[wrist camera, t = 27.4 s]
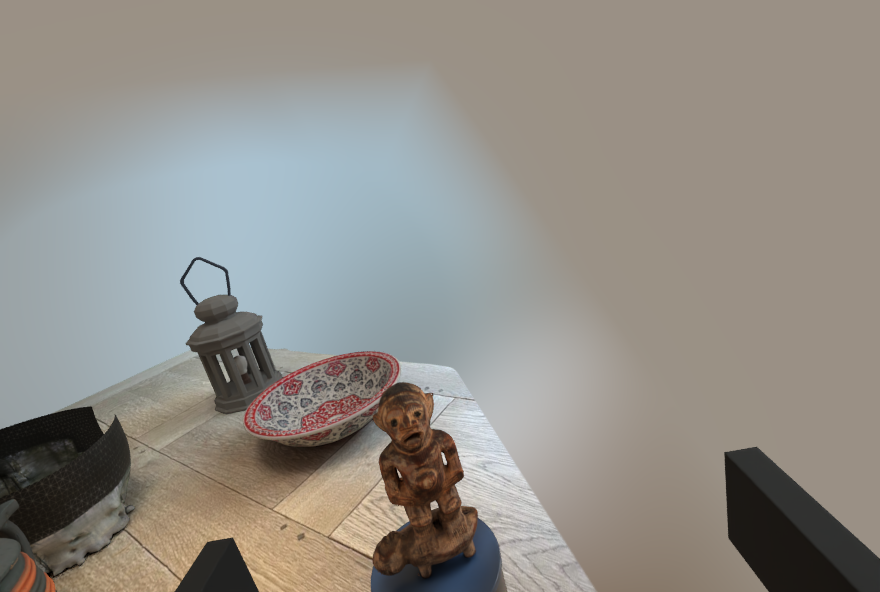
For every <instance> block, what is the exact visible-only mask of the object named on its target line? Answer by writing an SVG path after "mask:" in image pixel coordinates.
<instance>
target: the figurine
mask: <svg viewBox="0 0 880 592" xmlns="http://www.w3.org/2000/svg"><path fill="white" fill-rule="evenodd" d="M432 395H433V393H432ZM432 395H431V394H430V393H427V394H424V393H423V391H422V390H421V389H420V388H419V387H418V386H416V385H414V384H410V383H404V382H402V383H396V384H394V385H392V386H391V387H389V388H387V389H386V390H385V391H384V393H383V394H382V396H381V398H380V401H379V406H378V412H377V413H375V414H374V415H373V420H374V422H375V424H376V425H377V426H378V427H379V428H380V429H382V430H383V431H385V432H386V433H387V434H388V435H389V436H390V437H391V439H392V442H391V443H390V444H389V445H388V446H387V447H386V448H385V449H384V450H383V452H382V453H381V455H380V458H379V466H380V470H381V475H382V478H383V480H384V483H385V490H386V492H387V495H388V498H389V500H390V502H391V503H392V504H396V505H398V506H399V505H401V507H402V506H404V508H405V511H406V513H407V516H408V518H409V521H410V524H409V525H408V526H407V527H406V528H404V529H402V530H401V531H392V532H390V533H389V534H388V535H387V536H384V537H383V539H382V540H381V541H380V542H379V543H378V544H377V546H376V549H375V552H374V554H373V564H374V567H375V569H376V570H378V573H379V572H380V573H381V575H382V573H383V575H386V576H387V575H388V576H390V575H391V576H392V575H394V574H395V575H396V573H397V574H398V573H399V572H400V571H402V569H403V568H404V567H405V565H407V564H412V565H413V566H414V567H418V568H419V570H420V573H421V577H422V578H424V579H426V578H429V577H430V576H431V575H432V571H431V565H433V564H439V563H442V562H444V561H447V560H449V559H452V558H454V557H455V556H457V555H458V554H460V553H462V552H463V553H464V557H466V558H469V557H472V556H473V555H474V554H475V553H476V550H475V546H474V543H473V540H472V539H473V537H474V534H475V532H476V528H477V521H478V513H477V510H476V508H474V507H466V506H461V499H460V497H459V495H458V492H457V489H456V487H455V484H456V483H457V482H459V481H460V480H462V478H463V477H464V474H463V472H464V471H463V469H462V467H461V463H460V460H459V456H458V452H457V449H456V445H455V443H454V441H453V439H452V437H451V436H450V435H449V434H447V433H446V432H444V431H442V430H435V429H431V428H430V419H431V417H432V413H433V408H434V402H433V397H432ZM441 452H443V453H444V455H445V458H446V461H447V465H444V463H443V459H442V455H441ZM397 469H398V471H399V472H400V474H401V476H402V477H401V478H399V475H398V473H397ZM435 500H436V502H437V503H438V506H439V508H436V509H434V510H431V507H430V503H431V502H433V501H435ZM418 576H420V575H419V573H418Z"/></svg>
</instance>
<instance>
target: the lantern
mask: <svg viewBox="0 0 880 592" xmlns="http://www.w3.org/2000/svg"><path fill="white" fill-rule="evenodd" d="M196 260H202V261H204V262H206V263H209V264H211V265H213V266H215V267H218V268H220V269H222V270H223V271H224V272H225V273H226V280H227V288H228V295H217V296H213V297H210V298H208V299H205V300H203V301H202V302H200V303H198V302H197V301H196V300H195V298H194V297H193V296H192V294H191V293H190V291H189V290H188V289H187V287H186V286H185V284H184V279H185V277H186V275H187V274H188V272H189V270H190V268H191V267H192V265H193V263H194V262H195V261H196ZM180 284H181V285H182V287H183V288H184V289H185V291H186V292H187V294H188V295H189V297H190V298H191V299H192V300H193V302H194V303H195V304H196V305H197V306H196V308H195V311H194V313H195V315H196V318H198V319H199V320H201V321H203V322H205V323H204V324H202V325H200V326H199V327H198V328H197V329H196V330H195V331H194V333H193V334H192V335H191V336H190V339H189V340H188V341H187V343H186V345H189V346H190V348H191V351H193V352H198V355H199V357H200V359H201V362H202V364H203V366H204V368H205V371H206V373H207V375H208V378H209V380H210V382H211V385H212V387H213V389H214V392H215V394H216V398H215V400H214V401H215V404H216V408H215V410H216V411H218V412H221V413H224V414H229V413H234V412H239V411H243V410H247V408H248V407H249V406H250V404H251V403H252V402H253V401H254V400H255V399H256V398H257V397H258V396H259V395H260V394H261V393H262V392H263V391H264V390H266V389H267V388H268V387H270V386H271V385H272V384H274V383H276V382H277V381H279V380H280V379H282V378H284V377H282V376H281V373H280V372H279V371H276V369H275V367H274V364H273V361H272V359H271V356H270V353H269V351H268V348H267V346H266V343H265V340H264V338H263V335H262V333H261V329H262V326H263V323H262V321H261V320H262V316H257V315H256V314H254V313H250V312H236V309H237V307H238V302H237V299H236V297H234V296H232V295H230V282H229V276H228V271H227V269H225V268H224V267H222V266H220V265H217V264H215V263H213V262H210V261H208V260H206V259H203V258H201V257H196V258H194V259H193V260H192V262H191V264H190V265H189V267H188V268H187V270H186V272H185V273H184V275H183V276H182V278H181V280H180ZM249 343H250V345H251V348H252V350H253V353H254V355H255V358H256V360H255V358H254V355H253V353H252V350H251V348H250V345H249ZM236 348H237V350H238V353H239V355H240V356H236V357H234V358H233V356H232V353H231V350H234V349H236ZM217 354H220V356H221V359H222V361H223V364H224V366H225V368H226V371H227V373H228V376H229V378H230V380H231V381H230V382H228V383H227V381H226V379H225V377H224V374H223V372H222V370H221V367H220V365H219V362H218V360H217V358H216V355H217ZM256 361H257V363H258V366H259V368H260V370H259V368H258V366H257V363H256Z"/></svg>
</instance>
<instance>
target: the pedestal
mask: <svg viewBox="0 0 880 592" xmlns="http://www.w3.org/2000/svg"><path fill="white" fill-rule="evenodd" d="M409 524H410V521H409V522H407V523H406V524H404V525H403V526H402V527H400V528H399V529H398V530H397V531H401V530H402V529H404V528H406V527H407V526H408V525H409ZM472 540H473V543H474V546H475V550H476V553H475V554H474V555H473V556H472V557H469V558H466V557H464V553H463V552H462V553H460V554H458V555H457V556H455V557H454V558H452V559H449V560H447V561H444V562H442V563H439V564H433V565H431V571H432V575H431V576H430V577H429V578H426V579H424V578H422V577H421V573H420V570H419V568H418V567H414V566H413V565H412V564H407V565H405V567H404V568H403V569H402V571H400V572H399V573H398V574H397V573H396V575H395V574H394V575H392V576H391V575H390V576H388V575H387V576H386V575H383V573H382V575H381V573H380V572H379V573H378V570H376V569H375V567H374V566H373V570H372V575H371V592H507V588H506V584H505V580H504V575H503V571H502V559H501V553H500V548H499V545H498V542H497V539H496V537H495V535H494V533H493V532H492V531H491V529H490V528H489V527H488V526H487V525H486V524H485V523H484V522H483V521H482V520H480V519H479V518H478V521H477V528H476V532H475V534H474V537H473V539H472ZM418 573H419V575H420V576H418Z"/></svg>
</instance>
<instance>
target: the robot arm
mask: <svg viewBox="0 0 880 592" xmlns="http://www.w3.org/2000/svg"><path fill="white" fill-rule="evenodd" d="M725 475H726V496H727V516H728V537H729V539H730V541H731V542H732V543H733V545H734V546H735V547H736V549H737V550H738V551H739V553H740V554H741V555H742V557H743V558H744V559H745V561H746V562H747V563H748V564H749V566H750V567H751V568H752V570H753V571H754V572H755V574H756V575H757V577H758V578H759V579H760V581H761V582H762V583H763V585H764V586H765V587H766V589H767V590H768V591H769V592H880V559H879V558H878V557H877V556H876V555H875V554H874V553H873V552H872V551H871V550H869V549H868V548H867V547H866V546H865V545H864V544H863V543H862V542H861V541H859V540H858V538H856V537H855V536H854V535H853V534H852V533H851V532H850V531H849V530H848V529H846V528H845V527H844V526H843V525H842V524H841V523H840V522H839V521H838V520H836V519H835V518H834V517H833V516H832V515H831V514H830V513H829V512H828V511H827V510H825V509H824V508H823V507H822V506H821V505H820V504H819V503H818V502H817V501H815V499H814V498H812V497H811V496H810V495H809V494H808V493H807V492H806V491H804V490H803V488H801V487H800V486H799V485H798V484H797V483H796V482H795V481H794V480H793V479H792V478H790V477H789V476H788V475H787V474H786V473H785V472H784V471H783V470H782V469H781V468H779V467H778V466H777V465H776V464H775V463H774V462H773V461H772V460H771V459H770V458H768V457H767V456H766V455H765V454H764V453H763V452H762V451H761V450H760V449H759V448H757V447H753V448H747V449H741V450H736V451H730V452H725ZM175 592H259V591H258V589H257V587H256V585H255V582H254V580H253V578H252V576H251V574H250V572H249V570H248V568H247V566H246V564H245V562H244V560H243V558H242V556H241V553H240V551H239V549H238V547H237V545H236V543H235V541H234V539H233V538H228V539H222V540H216V541H210V542H207V543H206V545H205V546H204V548H203V549H202V551H201V552H200V554H199V555H198V557H197V559H196V560H195V562H194V563H193V565H192V566H191V568H190V569H189V571H188V572H187V574H186V575H185V577H184V578H183V580H182V581H181V583H180V585H179V586H178V588H177V589H176V591H175Z"/></svg>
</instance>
